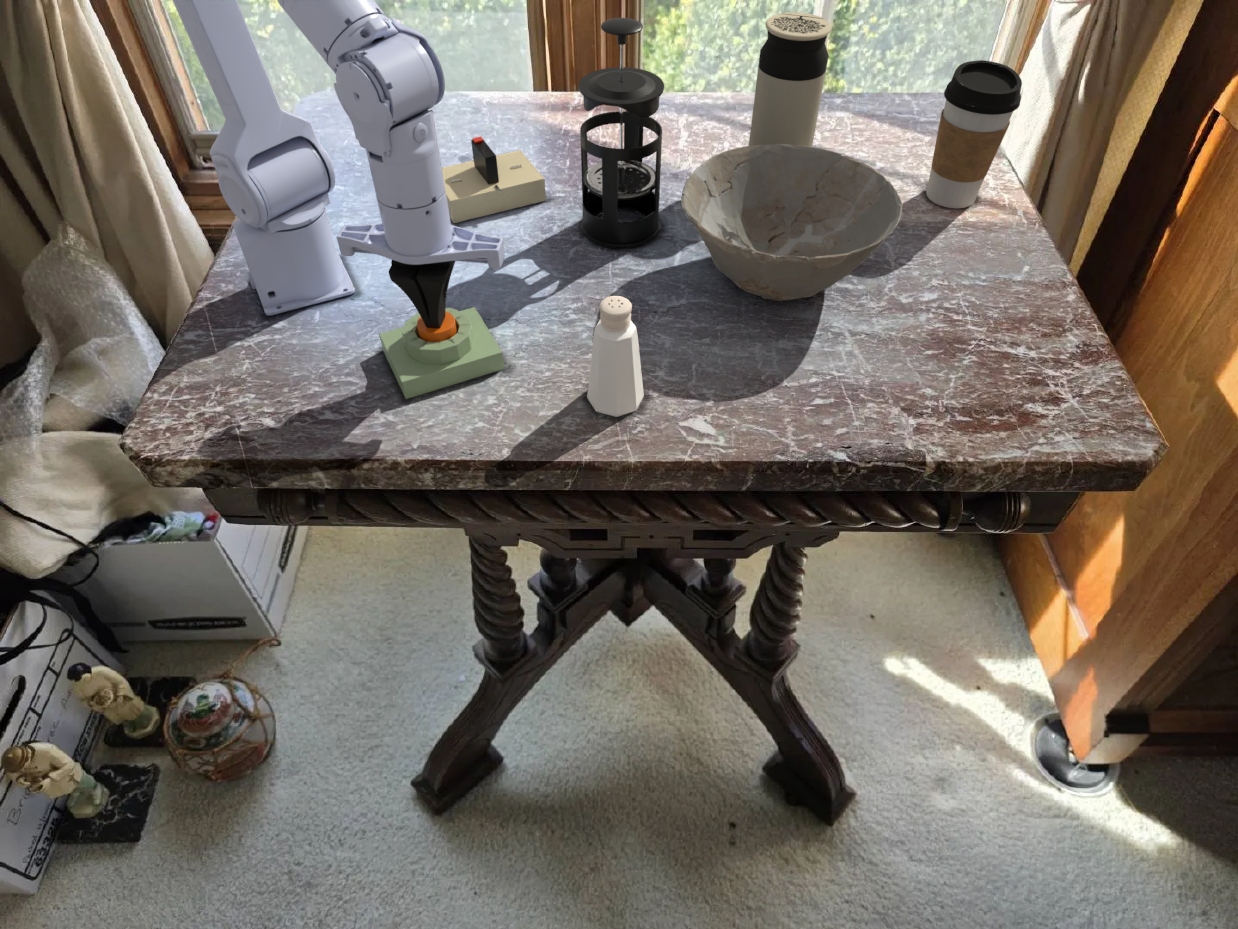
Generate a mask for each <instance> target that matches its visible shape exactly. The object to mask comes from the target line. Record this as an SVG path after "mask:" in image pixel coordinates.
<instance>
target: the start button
mask: <svg viewBox="0 0 1238 929" xmlns="http://www.w3.org/2000/svg"><path fill="white" fill-rule="evenodd" d="M417 328H418V332H419V337H420V339H422V340H424V341H426V342H441V341H445V340H448V339H450V338H451V337H453V336H454V335H455V334H457V329H456V323H455V318H454V316H453V315H452V314H450V313H449V312H446V311H445V319H444V321H443V323H442V325H441V328H439V329H438V328H427V327H426V326H425V324H424V322H423V320H422V318H421V317H420V318H419V319H418V321H417Z"/></svg>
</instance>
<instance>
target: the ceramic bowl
mask: <svg viewBox="0 0 1238 929" xmlns="http://www.w3.org/2000/svg"><path fill="white" fill-rule="evenodd" d="M680 206H681V208H682V210H683V212H684V214H685V216H686V218H687V219H688V221H689V222H690V224H692V226H693V227H694V229H695V230H696V231H697V233H698V234H699V236H700V237H701V239H702V241H703V243H704V244H705V246H706V248H707V250H708V252H709V254H710V256H711V259H712V262H713V265H714V266H715V267H716V268H717V269H718V270H719V271H720V272H721V273H723V275H725V276H726V277H727V278H728V279H730V281H732V282H733V283H734V284H735V285H736V286H737V287H738V288H739V289H741V290H743V291H744V292H746V293H748V294H751V295H754V296H759V297H761V298H762V299H765V300H772V301H777V302H782V301H790V300H797V299H804V298H810V297H813V296H815V295H816V294H818V293H819V292H821V291H824V290H826V289H828V288H830V287H831V286H833V285H835V284H836V283H838V282H840V281H841V280H843V279H844V278H846V277H847V276H848V275H850V274H851V273H852V272H853V271H854V270H856V269H857V268H858V267H859V266H860V265H861V264H862V263H863V262H864V261H866V260H867V259H868V257H869V256H871V255H872V253H873V252H875V250H877V248H879V247H880V246H881V245H882V244H883V243H884V241H885V240H887V238H888V237H889V236H890V235H891V234H892V233H893V232H894V231H895V229H896V228H897V227H898V225H899V223H900V221H901V218H902V212H903V203H902V199H901V197H900V195H899V194H898V191H897V190H896V189H895V187H894V186H893V184H892V182H891V181H890V180H888V179H887V178H886V177H885V176H884V175H883V174H882V173H881V172H880V171H879V170H877V169H876V168H874V167H872V166H870V165H869V164H866V163H863V162H860V161H859V160H857V159H856V158H854V157H851V156H847V155H842V154H841V153H839V152H835V151H832V150H829V149H824V148H819V147H814V146H812V147H808V146H800V145H791V144H773V145H750V146H749V145H747V146H741V147H736V148H731V149H728V150H725V151H722V152H720V153H718V154H715V155H714V156H712V157H710V158H708V159H707V160H706V161H704V162H703V163H701V165H700V166H698V167H697V168H695V169H694V170H693V172H692V173H691V174H690V175H689V177H688V178H687V179H686V180H685V183H684V186H683V189H682V191H681V198H680Z"/></svg>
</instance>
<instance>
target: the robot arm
mask: <svg viewBox="0 0 1238 929" xmlns="http://www.w3.org/2000/svg"><path fill="white" fill-rule="evenodd" d="M276 1H277V3H278V4H279V5H280V7H281V8H282V9H283V11H284V12H285V13H286V15H287V16H288V17H289V19H290V20H292V22H293V24H295V26H296V27H297V28H298V30H299V31H300V32H301V33H302V34H303V36H304V37H305V38H306V39H307V41H308V42H309V43H310V44H311V46H312V47H313V48H314V49H315V51H316V52H317V53H318V54H319V56H320V57H321V58H322V60H323V61H324V62H325V63H326V65H327V66H328V67H329V68H330V69H331V71H332V72H333V74H335V82H334V83H333V88H334V91H335V94H336V96H337V99H338V101H339V103H340V105H341V107H342V109H343V111H344V112H345V113H346V115H347V117H348V119H349V120H350V122H351V125H352V128H353V132H354V135H355V139H356V140H357V142H358V144H359V146H360V147H361V148H362V149H365V152H366V156H367V161H368V166H369V171H370V175H371V179H372V183H373V188H374V193H375V197H376V202H377V207H378V210H379V215H380V219H381V222H380V223H371V224H361V225H351V224H350V225H349V224H347V225H346V224H344V225H343V226H342V228H341V230H340V231H339V232H338V234H337V236H336V242H337V244H338V248H339V253H340V254H339V253H338V249H337V246H336V242H335V239H334V235H333V232H332V228H331V225H330V224H331V223H330V221H329V217H328V213H327V209H326V207H327V206H329V205H330V204H331V199H330V196H329V193H331V192H332V191H333V190H335V186H336V171H335V167H334V164H333V161H332V158H331V157H330V155H329V153H328V152H327V150H326V148H325V147H324V146H323V145H322V143H321V141H320V139H319V138H318V136H317V134H316V132H315V130H314V128H313V126H312V123H311V122H310V121H309V120H308V119H306V118H304V117H303V116H300V115H298V114H296V113H294V112H290V111H288V110H286V109H285V110H284V109H282V108H281V106H280V103H279V100H278V99H277V96H276V94H275V91H274V88H273V87H272V84H271V81H270V79H269V76H268V74H267V71H266V69H265V67H264V64H263V61H262V58H261V57H260V53H259V52H258V49H257V46H256V44H255V41H254V39H253V37H252V34H251V32H250V29H249V26H248V25H247V21H246V19H245V16H244V15H243V11H242V9H241V7H240V5H239V1H238V0H172V3H173V5H174V7H175V10H176V12H177V14H178V16H179V18H180V20H181V23H182V25H183V27H184V30H185V32H186V34H187V36H188V38H189V41H190V43H191V45H192V47H193V50H194V53H195V54H196V56H197V58H198V61H199V63H200V65H201V66H202V67H201V68H202V70H203V72H204V74H205V77H206V78H207V81H208V83H209V86H210V87H211V90H212V92H213V94H214V97H215V98H216V101H217V104H218V106H219V108H220V110H221V112H222V115H223V116H224V119H225V121H224V123H223V126H222V127H221V129H220V131H219V133H218V135H217V136H216V137H215V140H214V141H213V144H212V145H211V148H210V150H209V155H210V158H211V162H212V164H213V167H214V169H215V172H216V176H217V183H218V188H219V190H220V193H221V195H222V197H223V199H224V201H225V203H226V204H227V206H228V207H229V209H230V210H231V211H232V213H233V214H234V215H235V217H237V218H238V219H237V220H235V221H233V222H232V227H233V230H234V233H235V235H236V238H237V240H238V244H239V246H240V249H241V252H242V255H243V257H244V260H245V263H246V265H247V268H248V271H247V272H246V274H247V276H248V279H249V282H250V285H251V288H252V290H255V289H256V292H257V296H258V297H259V301H260V303H261V306H262V308H263V311H264V314H265V315H266V316H268V317H269V316H274V315H278V314H282V313H285V312H289V311H293V310H297V309H301V308H305V307H309V306H312V305H316V304H320V303H323V302H328V301H331V300H336V299H339V298H342V297H347V296H351V295H353V294H355V292H356V288H355V286H354V284H353V281H352V280H351V278H350V275H349V273H348V271H347V269H346V267H345V265H344V263H343V260H342V258H341V256H343V257H352V256H354V255H355V253H359V254H368V255H369V254H370V255H377V256H381V257H383V258H386V259H389V260H391V261H390V263H391V266H390V267H389V269H388V276H389V279H390V280H391V282H392V283H394V284H395V285H396V286H397V287H398V288H399V289H401V291H402V292H403V293H404V294H405V295H406V296H407V297H408V299H409V300H410V301H411V303H412V304H413V306H414V308H415V309H416V311H417V313H419V314H420V316H421V318H422V320H423V322H424V324H425V326H426V327H427V328H438V329H439V328H441V325H442V323H443V321H444V319H445V308H446V306H447V305H446V304H447V294H448V289H449V284H450V280H451V276H452V274H453V270H454V268H455V267H454V266H455V263H456V262H461V263H462V262H464V263H477V264H487V265H488V268H489V269H495V270H500V269H501V267H502V266H503V263H504V260H505V258H506V256H505V255H506V254H505V245H504V244H505V243H504V238H502V237H496V236H490V235H486V234H482V233H479V232H475V231H472V230H469V229H466V228H463V227H460V226H457V225H454V224H452V223H451V219H450V216H449V210H448V203H447V197H446V191H445V184H444V178H443V172H442V168H443V167H442V160H441V154H440V148H439V147H440V146H439V140H438V135H437V134H438V133H437V128H436V121H435V115H434V110H433V109H432V108H434V106H436V105H438V104H440V102H441V101H442V100H443V97H444V95H445V89H446V80H445V75H444V71H443V67H442V64H441V61H440V59H439V57H438V55H437V53H436V52H435V50H434V48H433V47H432V46H431V43H430V42H429V41H428V39H427V37H426V36H425V35H423V33H421V32H420V31H419V30H417V29H415V28H413V27H410V26H406V25H404V24H403V23H402V22H401V21H400V20H399V18H396V17H391V18H390V17H387V15H386V14H385V12H384V11H383V10H382V9H381V7H380V6H379V5H378V4H377V2H376V1H375V0H276ZM340 255H341V256H340Z"/></svg>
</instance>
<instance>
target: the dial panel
mask: <svg viewBox="0 0 1238 929" xmlns="http://www.w3.org/2000/svg"><path fill="white" fill-rule="evenodd" d="M495 155H496V154H495ZM496 159H497V168H498V177H499V182H496V183H492V184H488V183H487V182H486V180H485V179H484V178H483V177H482V175H481V174H480V173H479V171H478V170H477V169H476V167H475V166H474V160H470V161H465V162H462V163H457V164H452V165H447V166H443V167H442V172H443V178H444V184H445V191H446V197H447V203H448V210H449V216H450V221H452V223H453V224H457V223H461V222H466V221H469V220H474V219H477V218H481V217H485V216H489V215H494V214H497V213H502V212H506V211H509V210H514V209H518V208H521V207H526V206H531V205H534V204H538V203H542V202H546V201H547V196H546V182H545V176H543V175H542V174H541V172H540V171H539V170H538V168H536V167H535V166H534V165H533V163H532V162H531V161H530V160H529V158H528V157H527V156H526V155H525V154H524V153H523V151H522V150H521V149H519V150H514V151H510V152H505V153H501V154H497V155H496Z"/></svg>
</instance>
